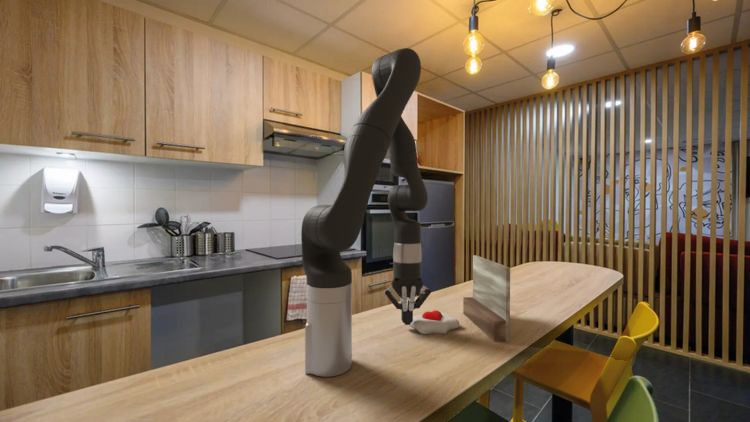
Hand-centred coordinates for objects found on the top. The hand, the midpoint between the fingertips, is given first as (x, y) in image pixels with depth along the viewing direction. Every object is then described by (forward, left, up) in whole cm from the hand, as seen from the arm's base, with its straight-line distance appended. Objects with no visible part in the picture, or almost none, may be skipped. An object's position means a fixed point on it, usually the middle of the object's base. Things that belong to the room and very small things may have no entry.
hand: (407, 323), depth 84 cm
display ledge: (+21, +1, -2) cm, 21 cm away
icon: (+8, +1, -2) cm, 8 cm away
